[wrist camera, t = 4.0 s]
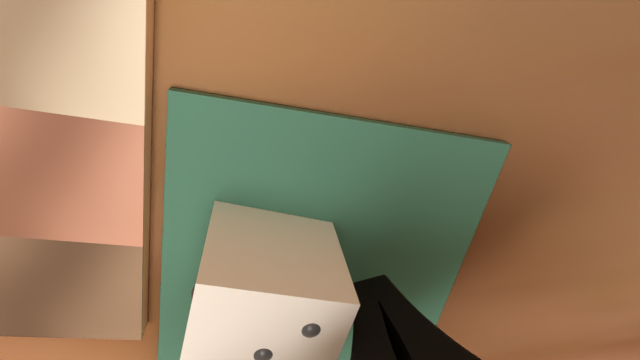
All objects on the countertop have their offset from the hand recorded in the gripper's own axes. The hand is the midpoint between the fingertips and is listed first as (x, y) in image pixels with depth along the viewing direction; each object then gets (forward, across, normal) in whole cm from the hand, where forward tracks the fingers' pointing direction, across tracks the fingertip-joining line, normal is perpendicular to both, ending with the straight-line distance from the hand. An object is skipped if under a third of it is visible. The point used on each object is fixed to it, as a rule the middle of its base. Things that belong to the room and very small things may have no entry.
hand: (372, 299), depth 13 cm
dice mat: (+1, +2, -1) cm, 2 cm away
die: (+1, +3, -2) cm, 4 cm away
